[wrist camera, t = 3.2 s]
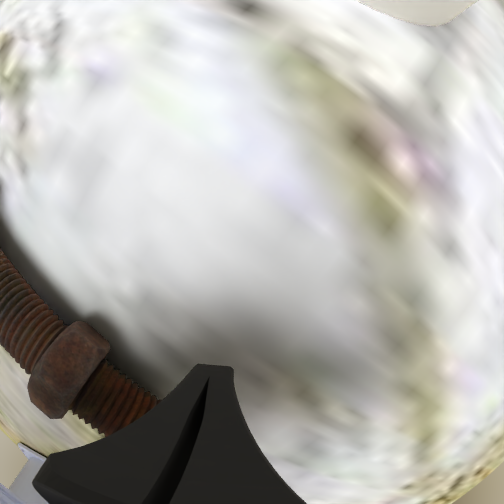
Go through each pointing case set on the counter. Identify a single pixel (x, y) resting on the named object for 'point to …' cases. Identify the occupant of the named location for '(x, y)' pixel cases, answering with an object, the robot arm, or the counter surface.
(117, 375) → the bolt
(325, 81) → the counter surface
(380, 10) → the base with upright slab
